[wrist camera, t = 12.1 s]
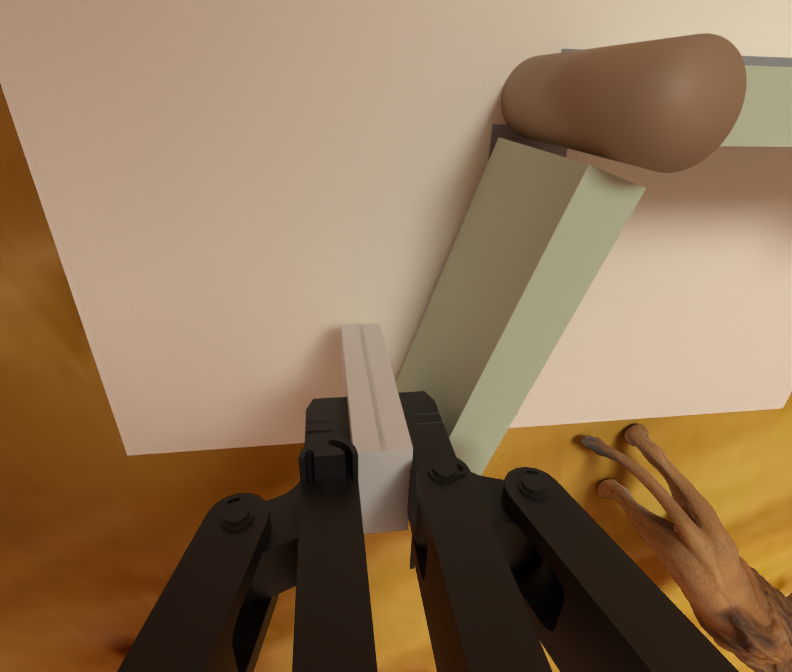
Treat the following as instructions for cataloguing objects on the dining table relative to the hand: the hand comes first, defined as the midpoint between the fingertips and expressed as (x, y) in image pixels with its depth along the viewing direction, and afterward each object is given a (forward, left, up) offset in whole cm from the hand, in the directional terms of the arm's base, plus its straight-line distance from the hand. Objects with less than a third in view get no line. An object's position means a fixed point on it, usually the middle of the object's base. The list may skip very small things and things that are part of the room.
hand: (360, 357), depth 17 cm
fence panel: (-2, +4, -2) cm, 4 cm away
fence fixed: (-8, +13, -2) cm, 15 cm away
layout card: (-5, +6, -2) cm, 8 cm away
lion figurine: (+11, +17, -3) cm, 21 cm away
